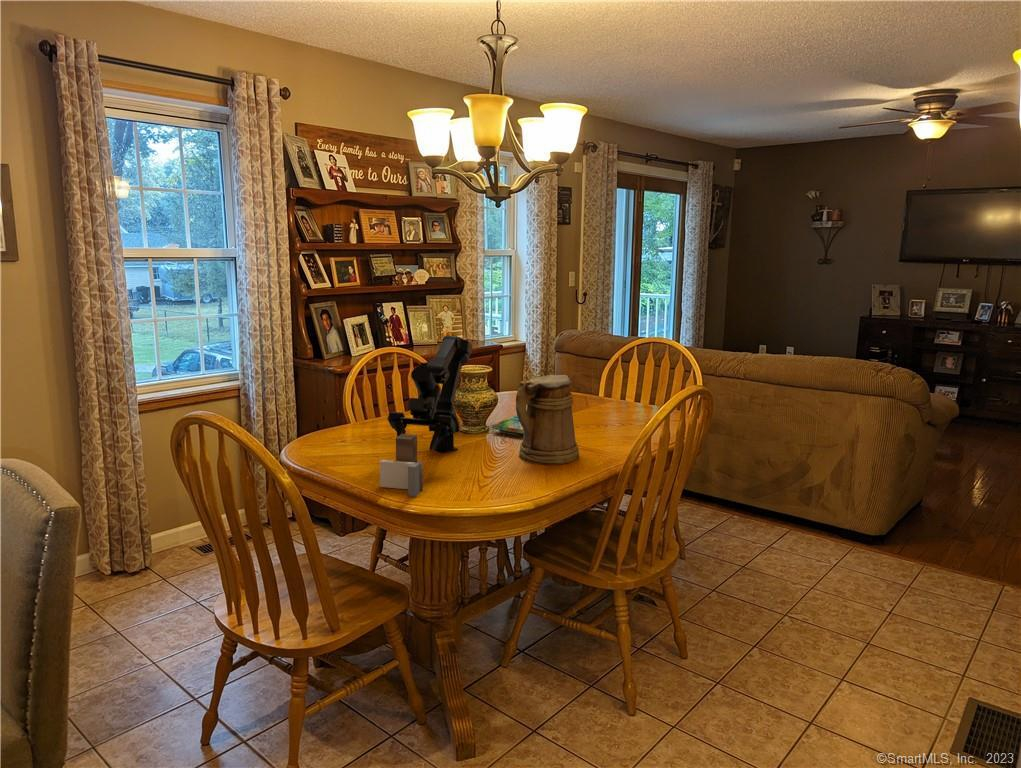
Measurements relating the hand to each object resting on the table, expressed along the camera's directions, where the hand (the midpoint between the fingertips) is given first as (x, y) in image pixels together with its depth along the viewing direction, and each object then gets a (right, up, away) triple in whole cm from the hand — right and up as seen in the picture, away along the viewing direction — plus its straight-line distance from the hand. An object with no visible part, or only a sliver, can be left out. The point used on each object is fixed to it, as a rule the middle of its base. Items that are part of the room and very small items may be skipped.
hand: (414, 448), depth 196 cm
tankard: (+37, -5, +20) cm, 42 cm away
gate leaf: (-2, -9, -9) cm, 13 cm away
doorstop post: (-1, -9, -5) cm, 10 cm away
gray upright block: (+2, -11, -13) cm, 17 cm away
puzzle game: (+31, +1, +52) cm, 60 cm away
